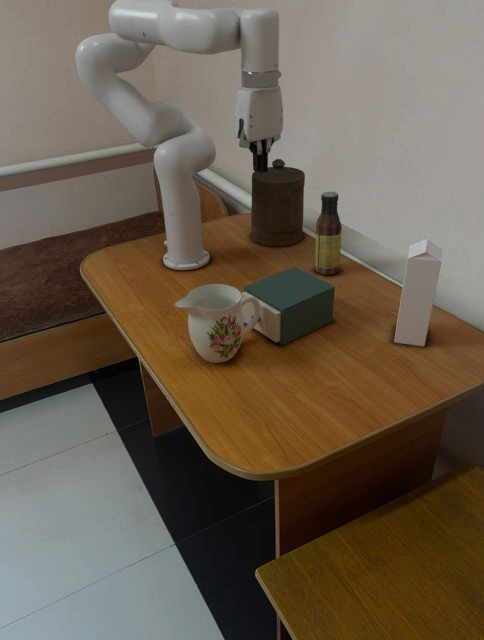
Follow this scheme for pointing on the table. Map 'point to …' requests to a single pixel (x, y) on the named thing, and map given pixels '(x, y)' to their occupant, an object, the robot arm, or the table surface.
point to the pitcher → (217, 320)
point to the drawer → (263, 318)
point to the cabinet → (296, 301)
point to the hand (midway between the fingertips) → (260, 171)
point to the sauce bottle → (328, 236)
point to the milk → (418, 292)
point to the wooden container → (277, 205)
